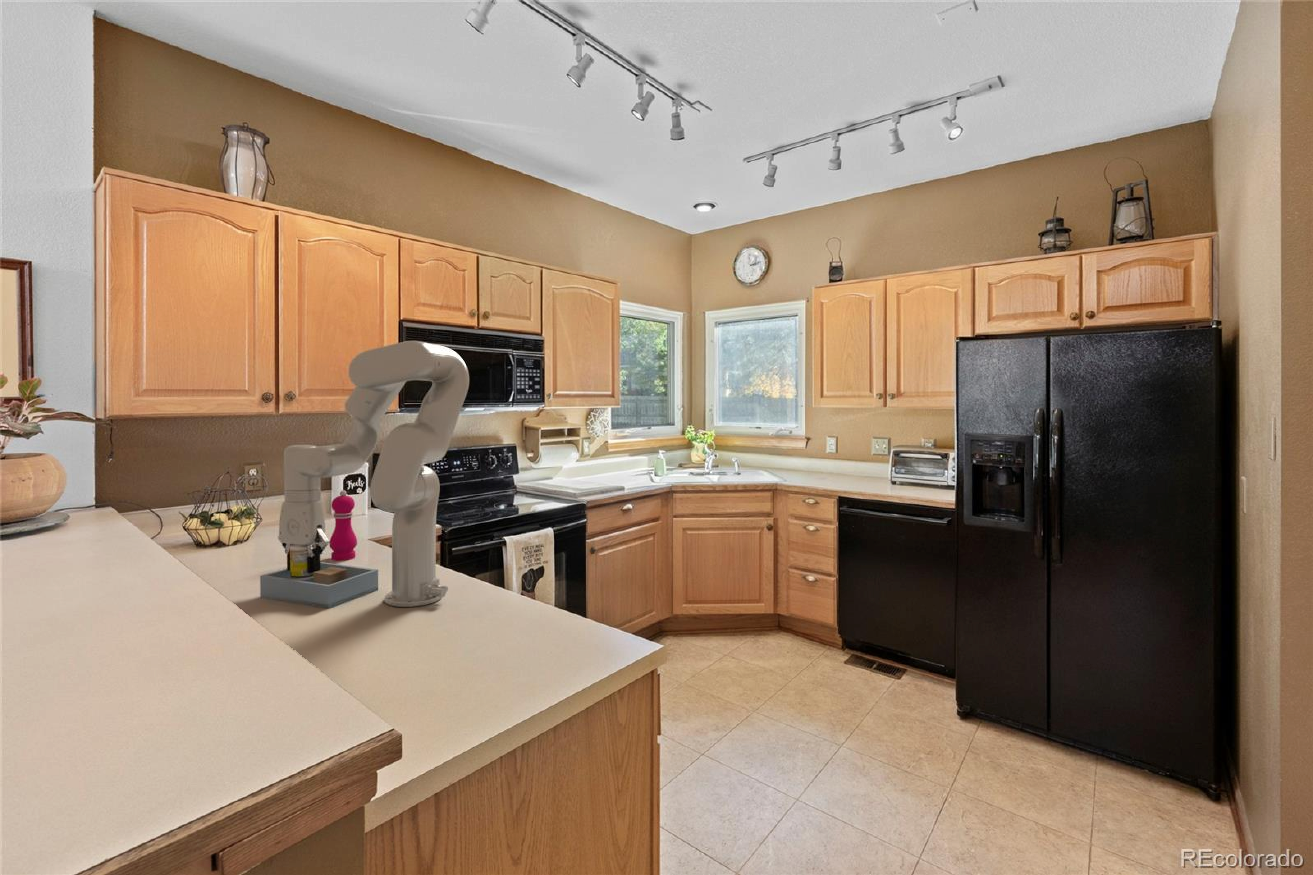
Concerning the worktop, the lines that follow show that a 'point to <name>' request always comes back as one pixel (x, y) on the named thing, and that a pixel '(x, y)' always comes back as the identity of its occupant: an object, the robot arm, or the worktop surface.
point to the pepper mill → (343, 529)
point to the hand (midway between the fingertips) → (303, 569)
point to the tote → (319, 587)
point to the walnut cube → (329, 575)
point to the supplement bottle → (299, 562)
